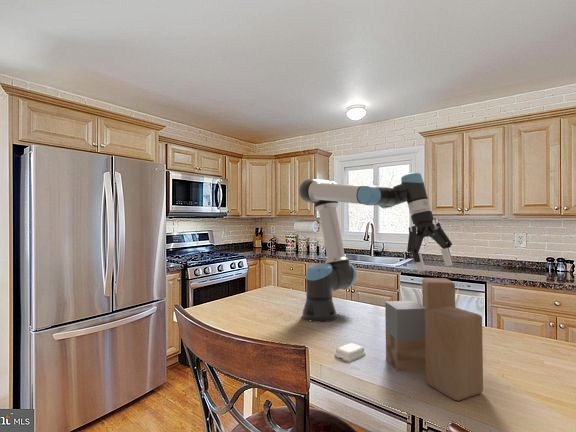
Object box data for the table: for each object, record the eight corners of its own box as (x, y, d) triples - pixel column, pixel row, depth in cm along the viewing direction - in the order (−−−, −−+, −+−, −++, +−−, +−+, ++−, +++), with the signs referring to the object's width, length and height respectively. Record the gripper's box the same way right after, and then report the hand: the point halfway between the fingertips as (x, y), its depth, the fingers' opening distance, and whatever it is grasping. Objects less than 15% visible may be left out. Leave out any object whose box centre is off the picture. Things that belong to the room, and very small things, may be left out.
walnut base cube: (385, 358, 103) (385, 329, 103) (413, 357, 104) (413, 328, 104) (397, 371, 94) (397, 340, 94) (427, 370, 95) (427, 339, 95)
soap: (349, 363, 100) (349, 354, 100) (332, 356, 105) (332, 347, 105) (367, 355, 106) (367, 346, 106) (350, 349, 111) (350, 340, 111)
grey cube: (385, 329, 103) (385, 301, 103) (413, 328, 104) (412, 300, 104) (397, 340, 94) (397, 309, 94) (427, 339, 95) (426, 308, 95)
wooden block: (456, 336, 121) (455, 282, 121) (427, 335, 123) (427, 282, 123) (448, 327, 130) (448, 278, 131) (422, 326, 132) (421, 277, 133)
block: (456, 403, 78) (455, 319, 78) (424, 383, 87) (423, 309, 87) (485, 393, 82) (483, 314, 82) (450, 376, 91) (450, 304, 91)
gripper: (402, 212, 115) (417, 272, 110) (452, 207, 125) (468, 262, 120) (388, 217, 121) (402, 274, 117) (436, 212, 131) (451, 264, 127)
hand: (435, 268), depth 119 cm, fingers open, 13 cm apart
